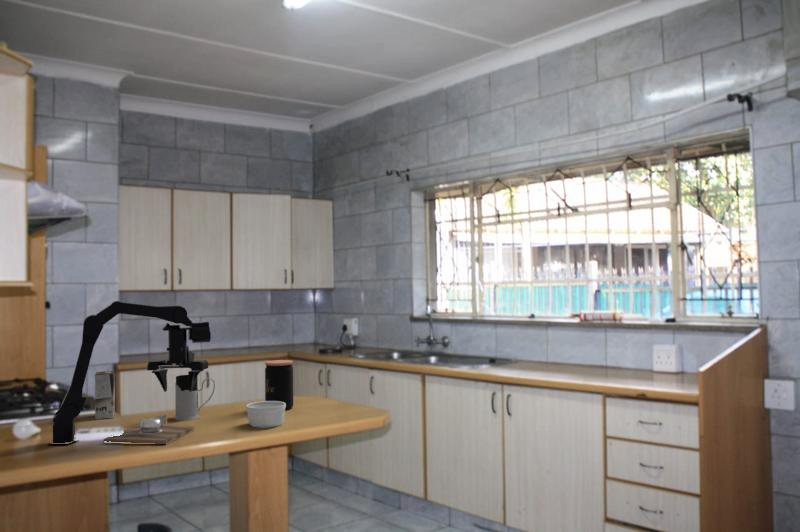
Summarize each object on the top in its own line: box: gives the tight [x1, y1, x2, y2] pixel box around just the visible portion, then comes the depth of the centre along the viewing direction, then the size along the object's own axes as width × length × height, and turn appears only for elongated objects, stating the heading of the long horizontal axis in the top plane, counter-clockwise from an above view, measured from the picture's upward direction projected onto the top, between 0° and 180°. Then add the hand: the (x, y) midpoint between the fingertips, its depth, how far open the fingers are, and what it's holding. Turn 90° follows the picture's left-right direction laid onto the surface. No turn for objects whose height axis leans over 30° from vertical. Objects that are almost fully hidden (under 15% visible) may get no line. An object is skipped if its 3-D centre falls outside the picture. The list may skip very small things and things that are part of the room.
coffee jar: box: [264, 359, 294, 411], centre depth 263 cm, size 11×11×18 cm
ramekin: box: [245, 400, 286, 429], centre depth 235 cm, size 13×13×7 cm
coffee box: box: [94, 370, 116, 420], centre depth 252 cm, size 9×6×16 cm
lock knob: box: [139, 413, 168, 433], centre depth 221 cm, size 12×6×3 cm, turn 173°
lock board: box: [103, 424, 195, 444], centre depth 218 cm, size 20×20×2 cm
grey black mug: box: [173, 374, 216, 421], centre depth 249 cm, size 9×14×15 cm, turn 113°
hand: (178, 391), depth 225 cm, fingers open, 8 cm apart
